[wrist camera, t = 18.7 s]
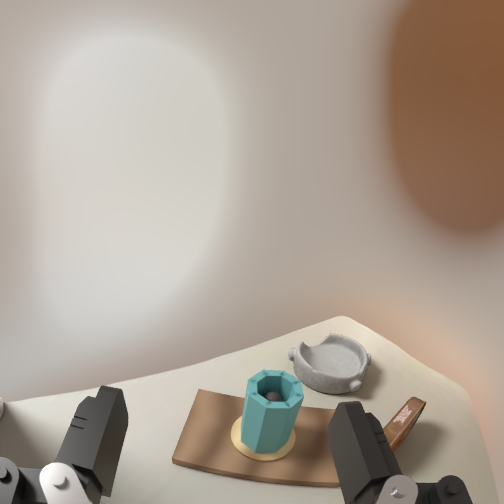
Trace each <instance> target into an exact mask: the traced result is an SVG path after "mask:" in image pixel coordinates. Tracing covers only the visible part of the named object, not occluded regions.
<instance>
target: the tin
mask: <svg viewBox="0 0 504 504" xmlns="http://www.w3.org/2000/svg"><path fill="white" fill-rule="evenodd" d="M425 405H426V402H424V401H422V400H420V399H418V398H416V397H411V398H410V399H409V400H408V401H407V402H406V404H405V405H404V406H403V407H402V408H401V409H400V410H399V411H398V413H397V414H396V415H395V416H394V417H393V418H392V419H391V421H390V422H389V423H388V424H387V425H386V426H385V427H384V428H383V431H384V434H385V435H386V438H387V442H389V445H390V447H391V449H392V452H394V451H395V450H396V448H397V447H398V446H399V445H400V444H401V442H402V441H403V440H404V439H405V437H406V436H407V435H408V433H409V432H410V430H411V429H412V427H413V426H414V424H415V423H416V421H417V419H418V418H419V416H420V414H421V413H422V411H423V409H424V407H425Z"/></svg>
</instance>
